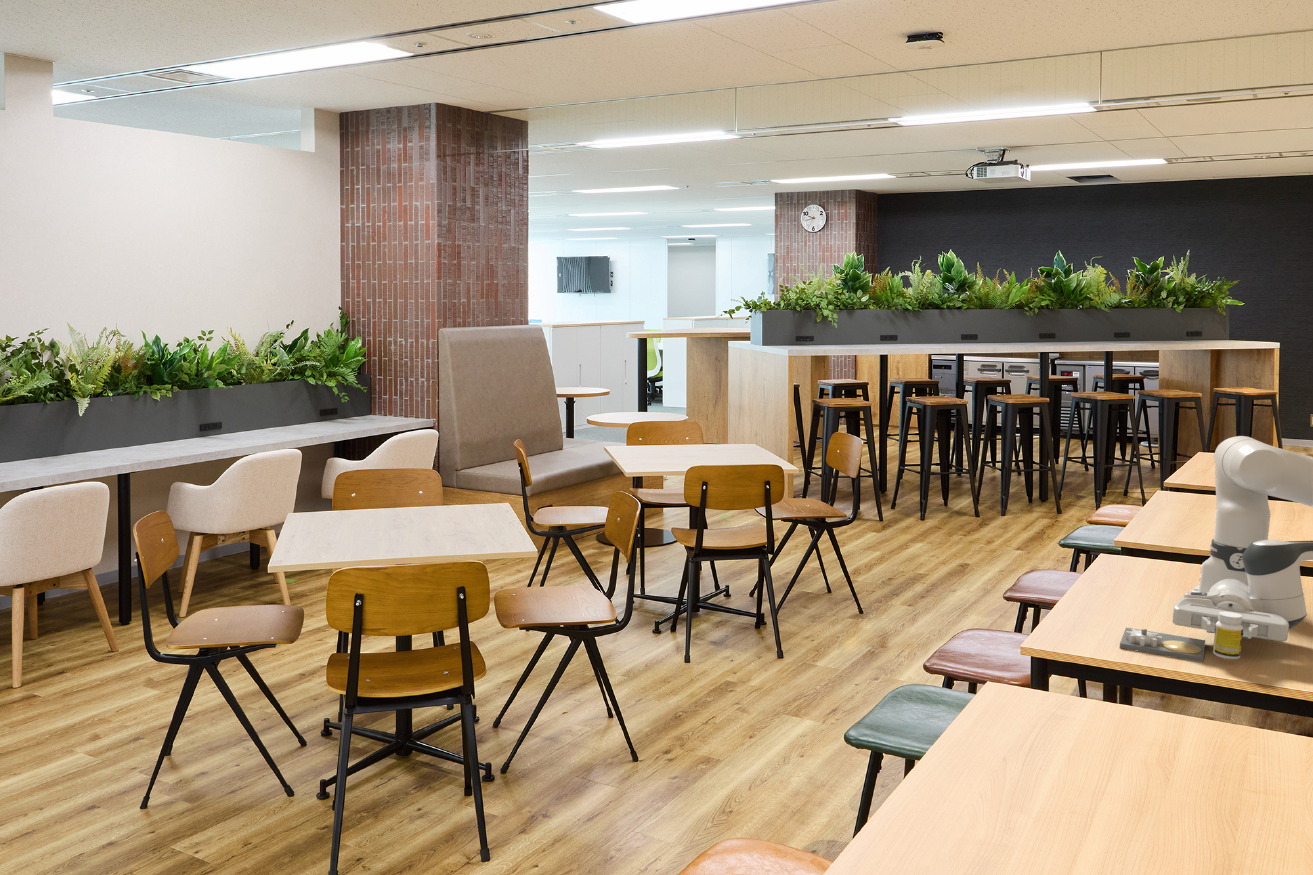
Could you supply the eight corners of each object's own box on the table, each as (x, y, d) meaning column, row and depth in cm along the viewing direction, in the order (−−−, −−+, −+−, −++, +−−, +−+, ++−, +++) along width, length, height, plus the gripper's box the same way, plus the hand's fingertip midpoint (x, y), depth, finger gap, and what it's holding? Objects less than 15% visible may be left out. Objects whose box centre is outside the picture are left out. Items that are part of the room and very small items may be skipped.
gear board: (1125, 631, 218) (1127, 616, 217) (1204, 644, 211) (1206, 628, 210) (1119, 647, 208) (1121, 631, 207) (1202, 662, 200) (1204, 645, 200)
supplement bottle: (1243, 660, 197) (1248, 619, 196) (1217, 658, 198) (1221, 617, 197) (1235, 652, 201) (1239, 611, 200) (1209, 650, 202) (1213, 609, 201)
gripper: (1286, 637, 205) (1289, 657, 193) (1173, 619, 215) (1169, 637, 204) (1290, 606, 205) (1293, 625, 193) (1176, 590, 215) (1172, 607, 203)
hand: (1228, 631), depth 198 cm, fingers closed on supplement bottle, 5 cm apart
